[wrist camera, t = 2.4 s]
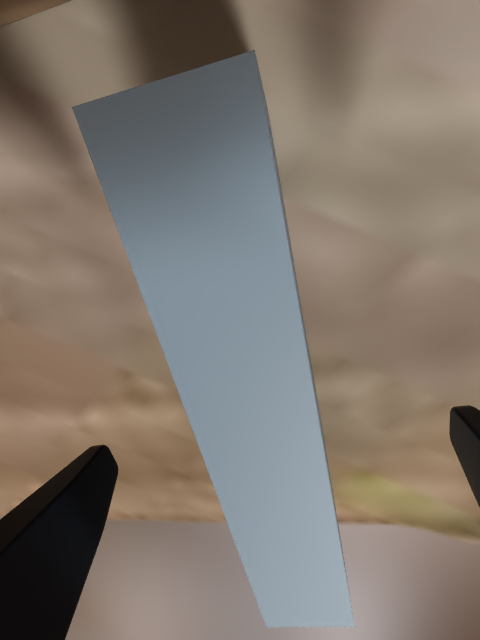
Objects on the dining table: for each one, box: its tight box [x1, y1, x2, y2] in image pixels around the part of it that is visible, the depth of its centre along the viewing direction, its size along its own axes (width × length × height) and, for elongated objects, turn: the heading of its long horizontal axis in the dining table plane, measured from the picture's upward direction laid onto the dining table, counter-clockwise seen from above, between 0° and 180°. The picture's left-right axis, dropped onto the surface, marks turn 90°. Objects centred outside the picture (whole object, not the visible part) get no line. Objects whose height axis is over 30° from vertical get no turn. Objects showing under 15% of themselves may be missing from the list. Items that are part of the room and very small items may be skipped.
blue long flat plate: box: [72, 50, 355, 627], centre depth 12 cm, size 3×16×8 cm, turn 13°
